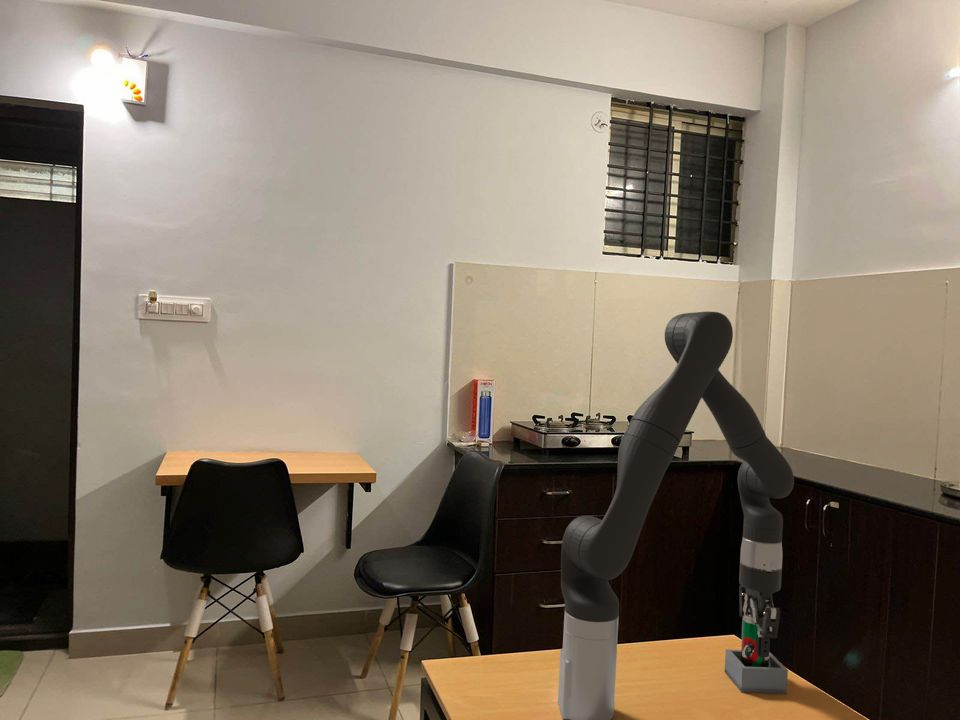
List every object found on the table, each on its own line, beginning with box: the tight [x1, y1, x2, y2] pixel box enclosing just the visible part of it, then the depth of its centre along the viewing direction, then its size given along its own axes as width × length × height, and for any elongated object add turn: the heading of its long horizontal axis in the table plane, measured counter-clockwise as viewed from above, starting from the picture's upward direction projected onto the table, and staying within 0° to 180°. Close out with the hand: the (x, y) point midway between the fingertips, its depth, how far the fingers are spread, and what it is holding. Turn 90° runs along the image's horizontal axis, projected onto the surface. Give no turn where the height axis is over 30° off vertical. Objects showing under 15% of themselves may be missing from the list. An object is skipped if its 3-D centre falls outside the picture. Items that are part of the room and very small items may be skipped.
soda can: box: [740, 613, 769, 667], centre depth 140 cm, size 5×5×12 cm
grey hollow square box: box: [724, 648, 789, 695], centre depth 140 cm, size 9×9×4 cm
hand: (756, 649), depth 140 cm, fingers open, 5 cm apart
